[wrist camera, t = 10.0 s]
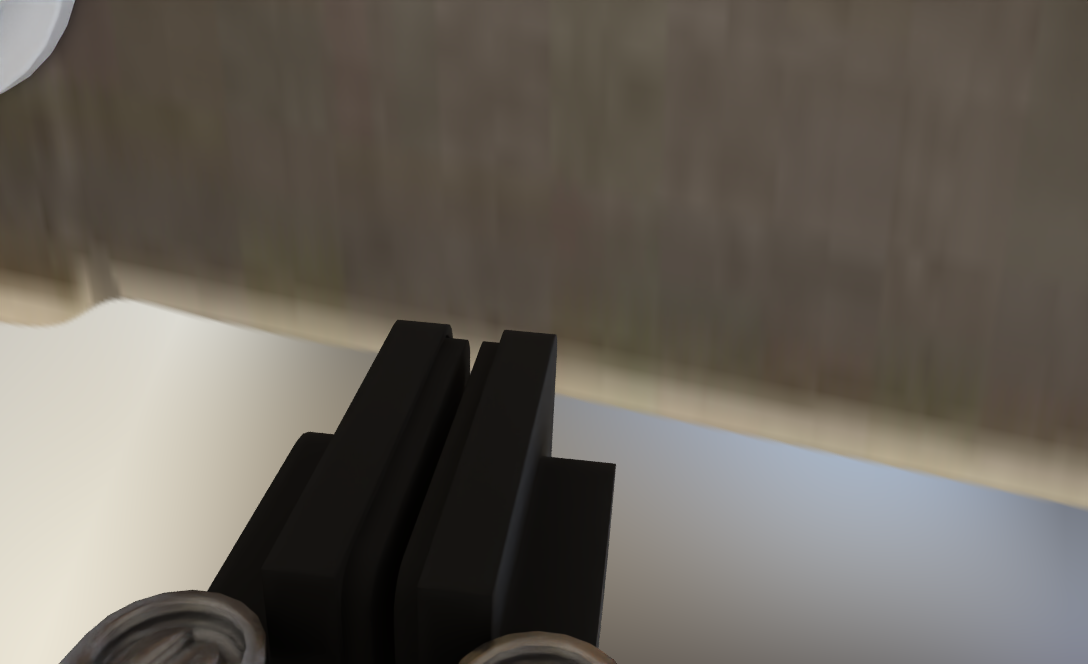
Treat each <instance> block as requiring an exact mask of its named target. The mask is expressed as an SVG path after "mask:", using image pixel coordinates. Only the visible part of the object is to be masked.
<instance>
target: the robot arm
mask: <svg viewBox="0 0 1088 664" xmlns="http://www.w3.org/2000/svg"><path fill="white" fill-rule="evenodd" d="M74 2H75V0H0V94H1V93H4V92H6V91H7V90H9V89H11V88H12V87H14V86H15V85H17V84H19V83H20V82H22V81H23V80H25V79H27V78H28V77H30V76H31V75H32V74H33V73H34V72H35V71H36V69H37V68H38V67H39V66H40V65H41V64H42V63H43V62H44V61H45V60H46V59H47V58H48V57H49V56H50V55H51V54H52V52H53V50H54V48H55V47H56V45H57V43H58V41H59V39H60V38H61V36H62V34H63V32H64V31H65V29H66V27H67V25H68V22H69V19H70V15H71V12H72V9H73V5H74ZM556 358H557V336H556V335H555V334H544V333H533V332H523V331H512V330H504V332H503V334H502V337H501V340H500V343H496V342H485V341H484V342H483V343H482V344H481V347H480V350H479V352H478V355H477V358H476V361H475V363H474V366H473V369H472V371H471V374H470V345H469V341H468V340H464V339H454V338H453V335H452V328H451V326H450V325H448V324H438V323H427V322H416V321H406V320H397V321H396V322H395V324H394V325H393V327H392V329H391V331H390V333H389V334H388V336H387V338H386V340H385V342H384V344H383V345H382V347H381V349H380V351H379V353H378V355H377V356H376V358H375V360H374V362H373V364H372V366H371V367H370V369H369V371H368V373H367V375H366V377H365V379H364V380H363V382H362V384H361V386H360V388H359V390H358V391H357V393H356V395H355V397H354V399H353V401H352V402H351V404H350V406H349V408H348V410H347V412H346V413H345V415H344V417H343V419H342V421H341V423H340V424H339V426H338V428H337V430H336V432H335V434H325V433H315V432H307V433H304V434H303V435H302V436H301V437H300V438H299V439H298V440H297V442H296V443H295V445H294V446H293V448H292V450H291V452H290V453H289V455H288V457H287V458H286V460H285V462H284V463H283V465H282V467H281V468H280V470H279V472H278V474H277V475H276V477H275V478H274V480H273V482H272V484H271V485H270V487H269V488H268V490H267V492H266V493H265V495H264V497H263V498H262V500H261V502H260V504H259V505H258V507H257V509H256V510H255V512H254V514H253V515H252V517H251V519H250V521H249V522H248V524H247V525H246V527H245V529H244V530H243V532H242V534H241V535H240V537H239V539H238V541H237V542H236V544H235V545H234V547H233V549H232V551H231V552H230V554H229V556H228V557H227V559H226V561H225V562H224V564H223V566H222V567H221V569H220V571H219V572H218V574H217V576H216V577H215V579H214V581H213V582H212V584H211V586H210V587H209V589H208V591H198V590H188V591H177V592H167V593H162V594H158V595H155V596H152V597H149V598H145V599H142V600H139V601H135V602H133V603H131V604H129V605H128V606H126V607H124V608H122V609H120V610H118V611H116V612H114V613H112V614H110V615H109V616H107V617H106V618H105V619H104V620H103V621H101V622H100V623H99V624H98V625H97V626H95V627H94V628H93V629H92V630H91V631H89V632H88V633H87V634H86V635H85V636H84V637H83V638H82V639H81V640H80V641H79V643H78V644H77V645H76V646H75V647H74V648H73V649H72V650H71V651H70V652H69V653H68V654H67V655H66V656H65V658H64V659H63V660H62V661H61V662H60V663H59V664H617V663H616V662H615V661H614V659H612V658H611V657H609V656H608V655H606V654H605V653H603V652H602V651H601V650H599V649H598V647H599V638H600V628H601V618H602V609H603V599H604V589H605V579H606V568H607V558H608V547H609V536H610V524H611V514H612V503H613V492H614V480H615V469H616V464H613V463H602V462H593V461H584V460H574V459H564V458H555V457H551V451H552V450H551V449H552V433H553V413H554V396H555V377H556Z"/></svg>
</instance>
